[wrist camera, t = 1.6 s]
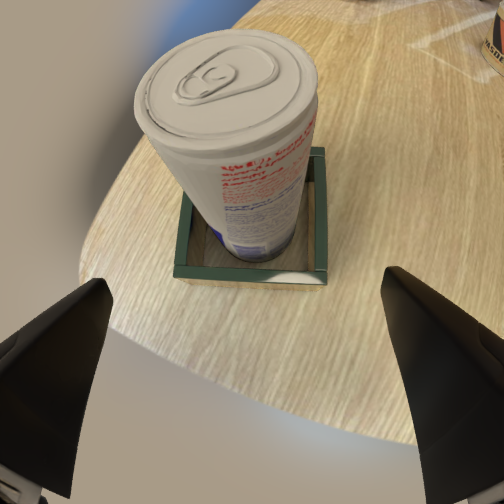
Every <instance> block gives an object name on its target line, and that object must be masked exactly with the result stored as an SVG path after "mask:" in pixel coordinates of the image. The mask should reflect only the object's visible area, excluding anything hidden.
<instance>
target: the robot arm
mask: <svg viewBox="0 0 504 504" xmlns="http://www.w3.org/2000/svg"><path fill="white" fill-rule="evenodd" d="M381 298H382V302H383V307H384V311H385V316H386V320H387V325H388V330H389V335H390V338H391V342H392V345H393V348H394V352H395V355H396V358H397V362H398V365H399V369H400V372H401V376H402V379H403V383H404V387H405V391H406V395H407V399H408V403H409V407H410V411H411V415H412V420H413V424H414V429H415V434H416V439H417V444H418V449H419V454H420V461H421V467H422V473H423V480H424V488H425V495H426V504H454V503H456V502H459V501H462V500H464V499H466V498H467V499H468V504H504V340H503V339H502V338H500V337H499V336H498V335H496V334H495V333H493V332H492V331H491V330H489V329H488V328H487V327H485V326H484V325H483V324H481V323H478V321H477V320H476V319H475V318H473V317H472V316H471V315H469V314H468V313H466V312H465V311H464V310H462V309H461V308H460V307H458V306H457V305H455V304H454V303H453V302H451V301H450V300H448V299H447V298H445V297H444V296H443V295H441V294H440V293H438V292H437V291H435V290H434V289H432V288H431V287H430V286H428V285H427V284H425V283H424V282H422V281H421V280H419V279H418V278H416V277H415V276H413V275H412V274H410V273H409V272H407V271H405V270H404V269H402V268H401V267H399V266H390V267H387V268H386V269H385V272H384V276H383V281H382V285H381ZM112 306H113V296H112V294H111V292H110V289H109V287H108V285H107V282H106V280H105V279H103V278H93V279H91V280H90V281H88V282H87V283H85V284H83V285H82V286H80V287H79V288H77V289H76V290H75V291H73V292H72V293H70V294H69V295H67V296H66V297H64V298H63V299H61V300H60V301H59V302H57V303H56V304H54V305H53V306H51V307H50V308H48V309H47V310H46V311H44V312H43V313H41V314H40V315H38V316H37V317H36V318H34V319H33V320H32V321H30V322H29V323H28V324H26V325H25V326H23V327H22V328H21V329H20V330H19V331H17V332H15V333H14V334H13V335H11V336H10V337H9V338H8V339H6V340H4V341H3V342H2V343H0V504H48V502H47V500H46V498H45V497H43V496H42V495H41V491H42V487H43V488H45V489H47V490H49V491H52V492H54V493H56V494H58V495H60V496H63V497H65V498H67V499H70V495H71V487H72V480H73V472H74V465H75V460H76V454H77V446H78V442H79V437H80V432H81V427H82V423H83V418H84V414H85V410H86V405H87V401H88V397H89V393H90V389H91V386H92V382H93V378H94V375H95V371H96V368H97V364H98V361H99V357H100V354H101V351H102V348H103V344H104V341H105V337H106V332H107V328H108V323H109V319H110V315H111V310H112Z"/></svg>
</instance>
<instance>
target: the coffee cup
mask: <svg viewBox="0 0 504 504" xmlns="http://www.w3.org/2000/svg"><path fill="white" fill-rule="evenodd" d="M499 5H500V6H499V8H498V10H497V13H496V15H495V18H494V20H493V22H492V25H491V27H490V29H489V32H488V34H487V36H486V38H485V41H484V43H483V45H482V48H481V53H482V55H483V56H484V58H485V59H486V61H487V62H488V63H489V64H490V65H491V66H492V67H493V68H494V69H495V70H496V71H497V72H498V73H500V74H501V75H502V76H504V0H503V1H502V2H500V4H499Z"/></svg>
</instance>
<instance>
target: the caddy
mask: <svg viewBox="0 0 504 504" xmlns="http://www.w3.org/2000/svg"><path fill="white" fill-rule="evenodd" d="M304 182H308V270H307V271H289V270H266V269H245V268H224V267H206V266H203V256H204V245H205V235H206V226H207V222H206V220H205V219H204V218H203V216H202V215H201V213H200V212H199V211H198V209H197V208H196V207H195V205H194V204H193V202H192V201H191V200H190V198H189V197H188V195H187V194H186V193H185V191H183V198H182V204H181V211H180V219H179V226H178V234H177V242H176V251H175V259H174V271H173V277H174V278H176V279H178V280H181V281H183V282H186V283H189V284H191V285H203V286H218V287H235V288H253V289H273V290H297V291H318V290H320V289H321V288H323V287H325V286H326V285H327V277H328V273H327V271H328V216H327V183H326V162H325V148H324V147H311V149H310V155H309V160H308V166H307V171H306V176H305V181H304Z"/></svg>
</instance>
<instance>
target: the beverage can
mask: <svg viewBox="0 0 504 504" xmlns="http://www.w3.org/2000/svg"><path fill="white" fill-rule="evenodd" d="M317 87H318V74H317V69H316V66H315V64H314V61H313V59H312V58H311V57H310V55H309V54H308V53H307V52H306V51H305V50H304V49H303V48H302V47H301V46H300V45H298V44H297V43H295V42H294V41H292V40H290V39H288V38H286V37H284V36H282V35H279V34H276V33H272V32H268V31H263V30H257V29H229V30H221V31H216V32H211V33H207V34H204V35H201V36H198V37H195V38H192V39H190V40H188V41H186V42H184V43H182V44H180V45H178V46H176V47H175V48H173V49H172V50H170V51H169V52H167V53H166V54H165V55H163V56H162V57H161V58H160V59H159V60H157V61H156V62H155V63H154V64H153V65H152V66H151V68H150V69H149V70H148V71H147V73H146V74H145V75H144V77H143V78H142V80H141V82H140V84H139V86H138V88H137V90H136V93H135V101H134V112H135V117H136V120H137V122H138V124H139V126H140V128H141V129H142V130H143V132H144V133H145V134H146V135H147V137H148V139H149V141H150V143H151V144H152V146H153V147H154V149H155V150H156V151H157V153H158V154H159V156H160V157H161V159H162V160H163V161H164V163H165V164H166V166H167V167H168V169H169V170H170V171H171V173H172V174H173V176H174V177H175V178H176V180H177V181H178V183H179V184H180V185H181V187H182V188H183V190H184V191H185V193H186V194H187V195H188V197H189V198H190V200H191V201H192V202H193V204H194V205H195V207H196V208H197V209H198V211H199V212H200V213H201V215H202V216H203V218H204V219H205V220H206V222H207V223H208V225H209V226H210V227H211V229H212V230H213V232H214V233H215V234H216V236H217V237H218V238H219V240H220V241H221V243H222V244H223V245H224V247H225V248H226V249H227V250H228V251H229V252H230V253H231V254H232V255H233V256H235V257H237V258H239V259H241V260H244V261H247V262H264V261H268V260H271V259H273V258H275V257H277V256H278V255H280V254H281V253H282V252H283V251H284V250H285V249H286V248H287V247H288V246H289V244H290V242H291V240H292V238H293V236H294V231H295V226H296V221H297V216H298V212H299V207H300V202H301V197H302V192H303V186H304V181H305V176H306V171H307V166H308V160H309V155H310V149H311V144H312V138H313V133H314V127H315V121H316V115H317V108H318V96H317Z"/></svg>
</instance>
